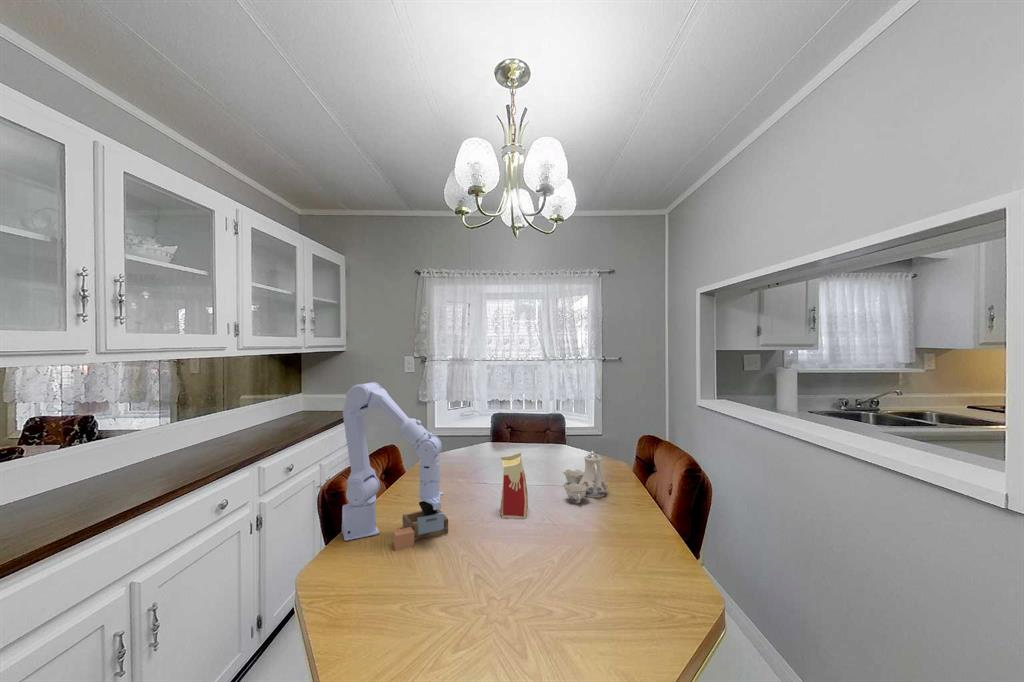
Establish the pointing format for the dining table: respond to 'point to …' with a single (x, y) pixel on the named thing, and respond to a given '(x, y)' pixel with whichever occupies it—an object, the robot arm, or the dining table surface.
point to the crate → (411, 521)
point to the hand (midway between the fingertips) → (429, 526)
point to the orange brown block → (403, 538)
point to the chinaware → (586, 480)
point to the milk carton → (514, 488)
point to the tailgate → (430, 523)
